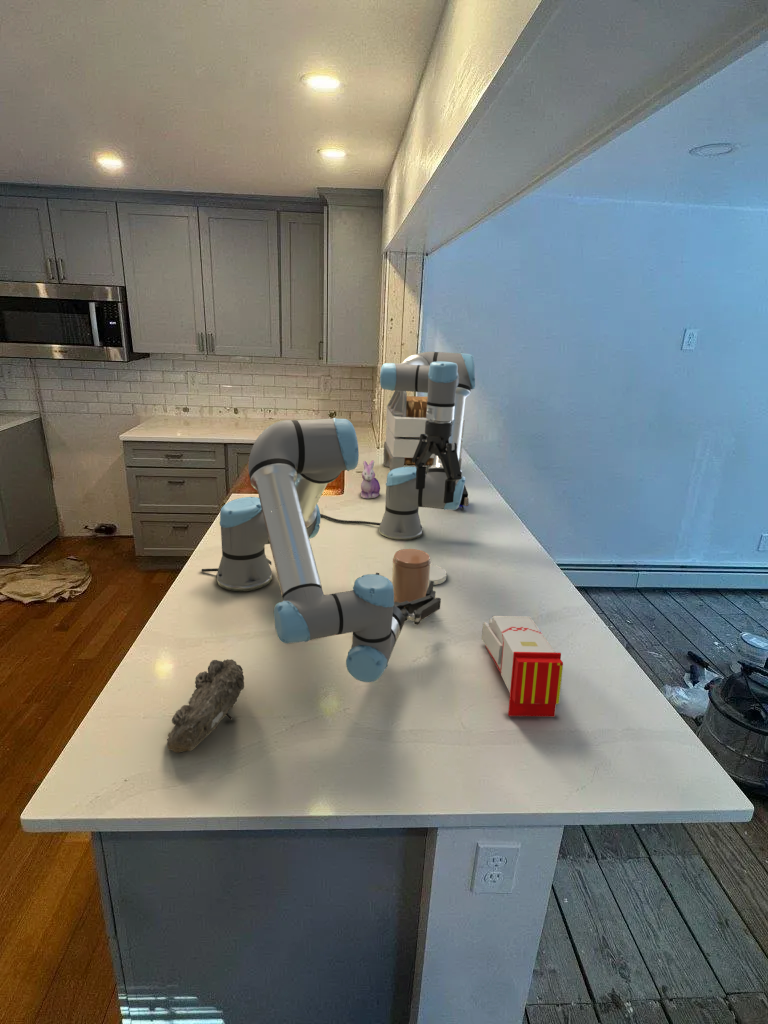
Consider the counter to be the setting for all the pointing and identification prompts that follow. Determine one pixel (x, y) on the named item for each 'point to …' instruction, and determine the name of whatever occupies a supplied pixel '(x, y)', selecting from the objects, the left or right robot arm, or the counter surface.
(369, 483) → the figurine
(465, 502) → the figurine character
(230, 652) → the counter surface
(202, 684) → the fossil
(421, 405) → the white wooden crate
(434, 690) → the counter surface
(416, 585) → the jar
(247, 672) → the counter surface
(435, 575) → the lid
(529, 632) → the toy
